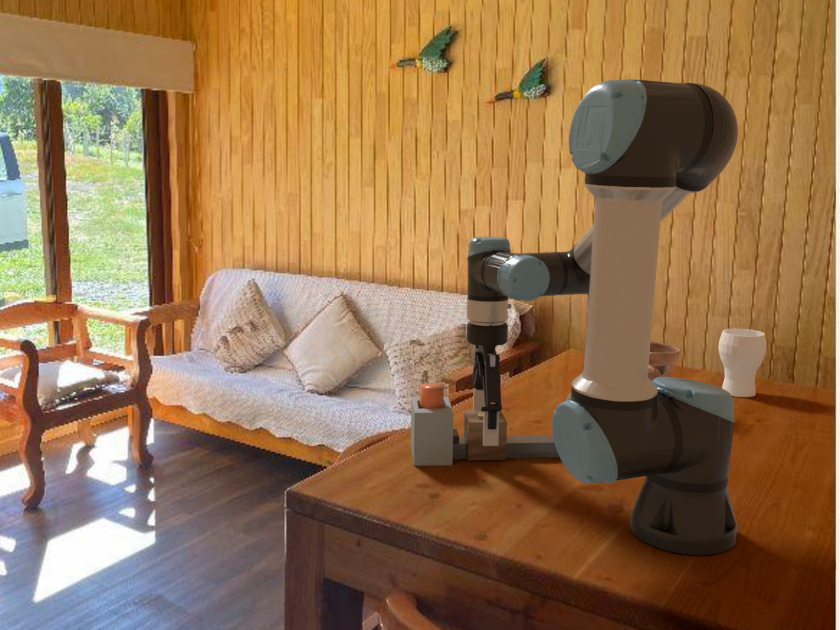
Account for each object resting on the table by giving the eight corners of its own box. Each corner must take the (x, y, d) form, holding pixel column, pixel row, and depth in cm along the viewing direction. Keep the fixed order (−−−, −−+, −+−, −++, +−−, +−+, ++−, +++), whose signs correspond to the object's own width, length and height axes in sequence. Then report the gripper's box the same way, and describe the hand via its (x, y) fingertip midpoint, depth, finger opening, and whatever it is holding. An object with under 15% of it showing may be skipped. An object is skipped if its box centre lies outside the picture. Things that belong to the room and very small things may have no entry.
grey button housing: (452, 465, 149) (453, 412, 147) (413, 465, 148) (414, 412, 147) (446, 446, 159) (447, 396, 157) (410, 446, 158) (411, 397, 156)
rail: (577, 457, 154) (578, 434, 153) (450, 459, 152) (451, 436, 151) (572, 450, 157) (573, 427, 157) (448, 451, 156) (448, 429, 155)
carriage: (505, 459, 151) (507, 418, 150) (468, 460, 151) (469, 419, 149) (499, 446, 158) (500, 407, 156) (463, 447, 157) (464, 407, 156)
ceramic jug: (679, 421, 176) (684, 356, 173) (610, 413, 180) (615, 350, 178) (681, 400, 193) (686, 341, 190) (618, 393, 197) (622, 336, 195)
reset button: (444, 420, 150) (445, 389, 149) (420, 421, 150) (420, 389, 149) (442, 413, 155) (442, 382, 153) (418, 413, 154) (419, 383, 153)
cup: (709, 386, 204) (714, 327, 201) (752, 387, 203) (758, 328, 200) (723, 398, 193) (728, 336, 190) (768, 399, 193) (774, 337, 190)
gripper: (520, 335, 138) (517, 455, 141) (496, 310, 162) (494, 413, 166) (476, 335, 137) (474, 456, 141) (459, 310, 162) (457, 413, 165)
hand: (485, 433), depth 153 cm, fingers open, 13 cm apart
